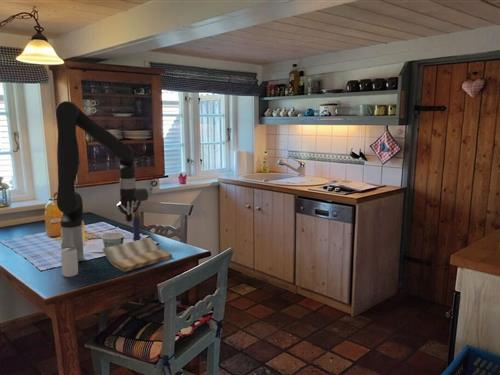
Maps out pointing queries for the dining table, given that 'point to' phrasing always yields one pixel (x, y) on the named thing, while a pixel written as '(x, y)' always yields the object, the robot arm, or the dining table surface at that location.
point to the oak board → (142, 260)
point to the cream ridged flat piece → (130, 249)
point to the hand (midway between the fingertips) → (129, 221)
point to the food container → (112, 239)
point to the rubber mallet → (141, 196)
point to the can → (69, 261)
